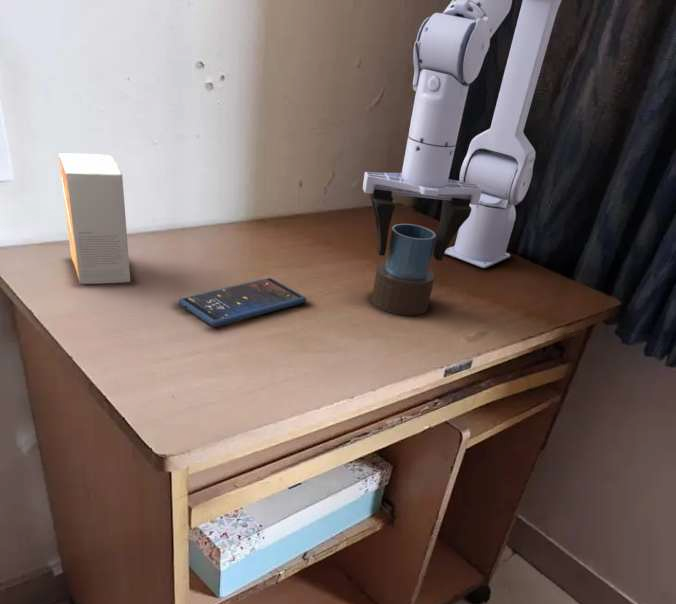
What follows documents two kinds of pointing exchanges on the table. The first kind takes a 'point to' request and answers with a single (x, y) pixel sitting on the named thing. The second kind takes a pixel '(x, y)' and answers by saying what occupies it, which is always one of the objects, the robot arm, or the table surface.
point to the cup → (409, 251)
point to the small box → (95, 217)
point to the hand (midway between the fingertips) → (409, 255)
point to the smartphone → (241, 301)
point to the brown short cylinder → (401, 293)
